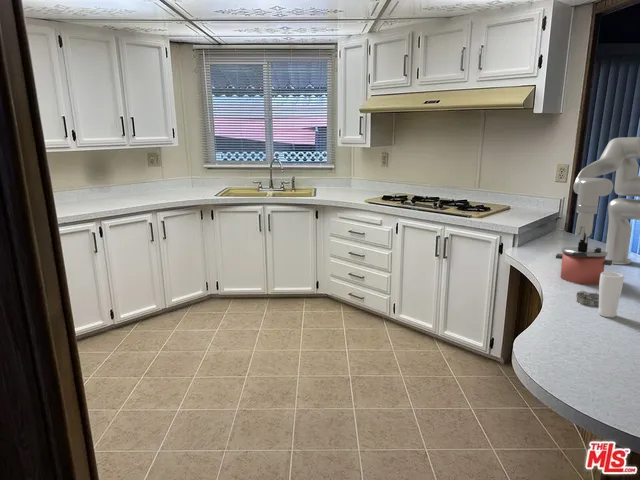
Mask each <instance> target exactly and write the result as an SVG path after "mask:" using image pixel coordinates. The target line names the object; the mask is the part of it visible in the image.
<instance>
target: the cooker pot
mask: <svg viewBox="0 0 640 480" xmlns="http://www.w3.org/2000/svg"><path fill="white" fill-rule="evenodd" d="M555 259H559V260H561V270H560V278H561V280H563V281H565V280H566V282H568V281H569V282H568V283H572V282H573V284H577V283H579V284H578V285H585V284H595V285H599V281H600V275H601V273H602V272H605V266H608V267H609V266H612V265H613V264H612V260H605V257H578V256H572V254H567V253H564V252H562V253H556V254H555Z"/></svg>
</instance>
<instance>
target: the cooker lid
mask: <svg viewBox="0 0 640 480" xmlns="http://www.w3.org/2000/svg"><path fill="white" fill-rule="evenodd" d="M561 252H562V253H563V252H564V253H567V254H572V256H578V257H606V256H607V252H605V250H602V248H601V247H594V248H589V247H587V252H578V246H577V247H576V246H575V247H574V246H573V247H572V246H571V247H570V246H565V247H561Z"/></svg>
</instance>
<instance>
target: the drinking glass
mask: <svg viewBox="0 0 640 480" xmlns="http://www.w3.org/2000/svg"><path fill="white" fill-rule="evenodd" d="M623 285H624V275H623V274H622V273H619V272H615V271H614V272H613V271H604V272H602V273H601V275H600V281H599V284H598V294H599V306H598V311H597V313H598V315H600V316H601V317H605V318H615V317H616V316H617V311H618V307H619V302H620V300H621V296H622V290H623Z"/></svg>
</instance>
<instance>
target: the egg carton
mask: <svg viewBox="0 0 640 480" xmlns="http://www.w3.org/2000/svg"><path fill="white" fill-rule="evenodd" d="M575 297H576V299H577V300H576V302H578V303H577V304H579V303H580V305H589V306H590V305H592V307H594V305H595V306H597V307H599V293H598V292H588V291H584V290H580V291H577V292H576V296H575ZM584 303H585V304H584Z"/></svg>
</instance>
